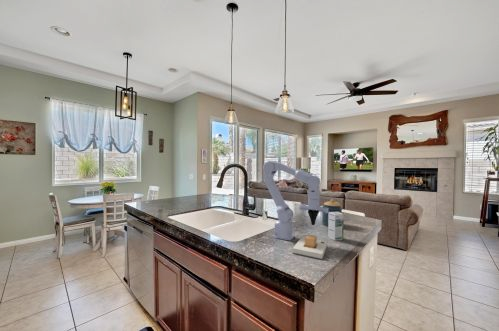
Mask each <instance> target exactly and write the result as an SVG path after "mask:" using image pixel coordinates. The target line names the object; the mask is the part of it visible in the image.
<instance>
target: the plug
mask: <svg viewBox="0 0 499 331" xmlns="http://www.w3.org/2000/svg"><path fill="white" fill-rule="evenodd" d="M304 238H305V247H308V248H314V249H315V248H316V246H317V241H318V237H317V235H313V234H307V235H306V237H304Z"/></svg>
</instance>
